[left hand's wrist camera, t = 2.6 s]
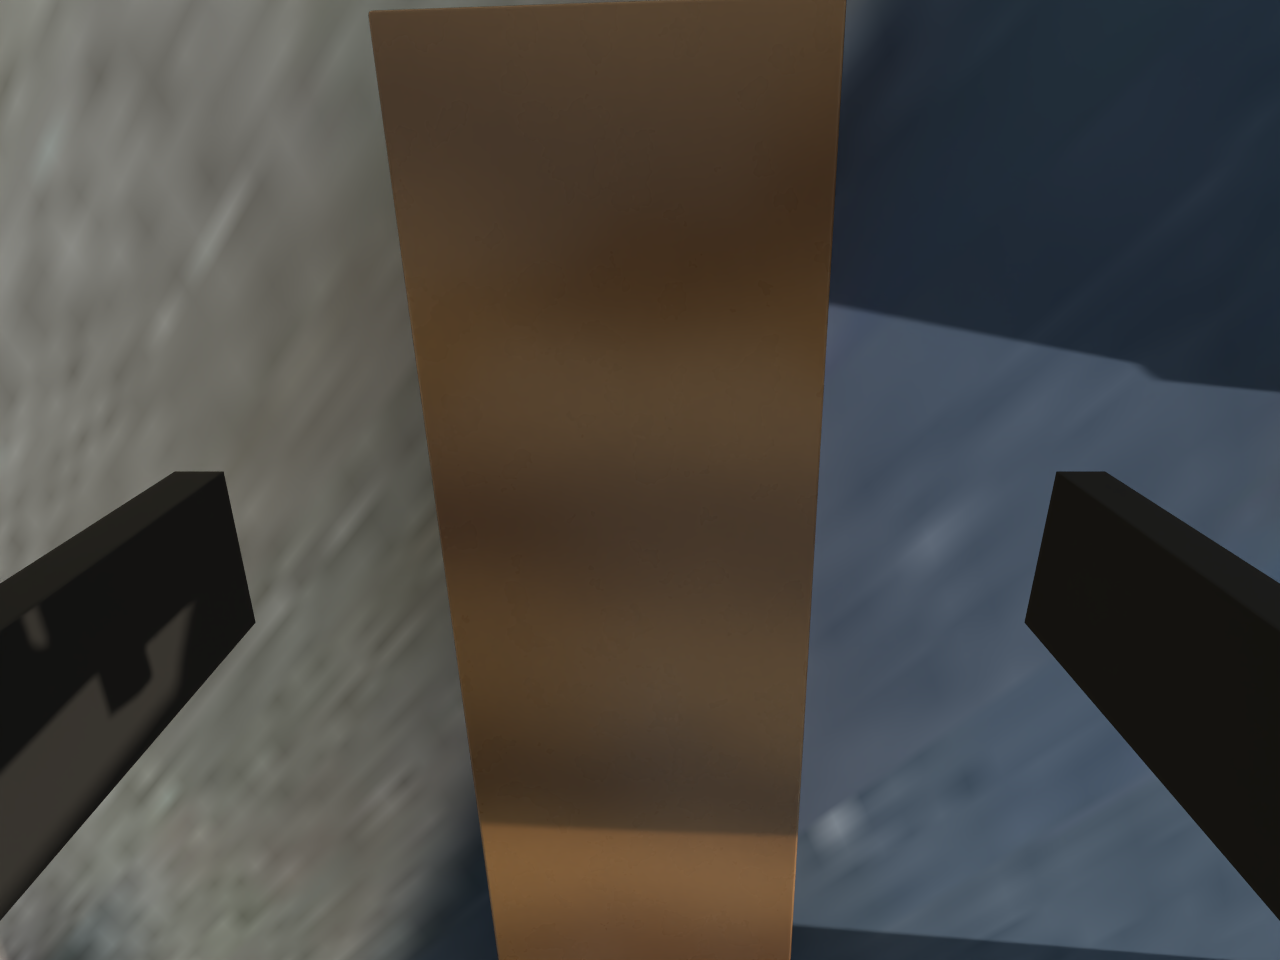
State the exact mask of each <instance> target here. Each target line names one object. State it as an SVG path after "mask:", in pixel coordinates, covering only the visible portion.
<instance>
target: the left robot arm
mask: <svg viewBox="0 0 1280 960" xmlns="http://www.w3.org/2000/svg"><path fill="white" fill-rule="evenodd" d="M254 624H255V618H254V613H253V609H252V604H251V599H250V595H249V590H248V585H247V580H246V576H245V571H244V566H243V561H242V557H241V552H240V547H239V543H238V538H237V533H236V528H235V524H234V519H233V514H232V509H231V505H230V500H229V495H228V491H227V486H226V481H225V476H224V472H174V473H172V474H170V475H169V476H167V477H166V478H164V479H163V480H161V481H160V482H158V483H156V484H155V485H153V486H152V487H150V488H149V489H147V490H145V491H144V492H142V493H141V494H139V495H138V496H136V497H135V498H133V499H131V500H130V501H128V502H127V503H125V504H124V505H122V506H121V507H119V508H117V509H116V510H114V511H113V512H111V513H110V514H108V515H107V516H105V517H103V518H102V519H100V520H99V521H97V522H96V523H94V524H92V525H91V526H89V527H88V528H86V529H85V530H83V531H82V532H80V533H78V534H77V535H75V536H74V537H72V538H71V539H69V540H68V541H66V542H64V543H63V544H61V545H60V546H58V547H57V548H55V549H53V550H52V551H50V552H49V553H47V554H46V555H44V556H43V557H41V558H39V559H38V560H36V561H35V562H33V563H32V564H30V565H29V566H27V567H25V568H24V569H22V570H21V571H19V572H18V573H16V574H15V575H13V576H11V577H10V578H8V579H7V580H5V581H4V582H2V583H0V920H1V919H2V918H3V917H4V916H5V914H6V913H7V912H8V911H9V910H10V909H11V907H12V906H13V905H14V904H15V903H16V902H17V900H18V899H19V898H20V897H21V896H22V895H23V893H24V892H25V891H26V890H27V889H28V888H29V886H30V885H31V884H32V883H33V882H34V881H35V879H36V878H37V877H38V876H39V875H40V874H41V872H42V871H43V870H44V869H45V868H46V867H47V865H48V864H49V863H50V862H51V861H52V860H53V858H54V857H55V856H56V855H57V854H58V853H59V851H60V850H61V849H62V848H63V847H64V846H65V844H66V843H67V842H68V841H69V840H70V838H71V837H72V836H73V835H74V834H75V833H76V831H77V830H78V829H79V828H80V827H81V826H82V824H83V823H84V822H85V821H86V820H87V819H88V817H89V816H90V815H91V814H92V813H93V812H94V810H95V809H96V808H97V807H98V806H99V805H100V803H101V802H102V801H103V800H104V799H105V798H106V796H107V795H108V794H109V793H110V792H111V791H112V789H113V788H114V787H115V786H116V785H117V784H118V782H119V781H120V780H121V779H122V778H123V777H124V775H125V774H126V773H127V772H128V771H129V770H130V768H131V767H132V766H133V765H134V764H135V763H136V761H137V760H138V759H139V758H140V757H141V756H142V754H143V753H144V752H145V751H146V750H147V749H148V747H149V746H150V745H151V744H152V743H153V742H154V740H155V739H156V738H157V737H158V736H159V735H160V733H161V732H162V731H163V730H164V729H165V728H166V726H167V725H168V724H169V723H170V722H171V721H172V719H173V718H174V717H175V716H176V715H177V714H178V712H179V711H180V710H181V709H182V708H183V707H184V705H185V704H186V703H187V702H188V701H189V700H190V698H191V697H192V696H193V695H194V694H195V693H196V691H197V690H198V689H199V688H200V687H201V686H202V684H203V683H204V682H205V681H206V680H207V678H208V677H209V676H210V675H211V674H212V673H213V671H214V670H215V669H216V668H217V667H218V666H219V664H220V663H221V662H222V661H223V660H224V659H225V657H226V656H227V655H228V654H229V653H230V652H231V650H232V649H233V648H234V647H235V646H236V645H237V643H238V642H239V641H240V640H241V639H242V638H243V636H244V635H245V634H246V633H247V632H248V631H249V629H250V628H251V627H252V626H253V625H254ZM1025 624H1026V625H1027V626H1028V627H1029V628H1030V629H1031V631H1032V632H1033V633H1034V634H1035V635H1036V636H1037V638H1038V639H1039V640H1040V641H1041V642H1042V643H1043V645H1044V646H1045V647H1046V648H1047V649H1048V650H1049V652H1050V653H1051V654H1052V655H1053V656H1054V657H1055V659H1056V660H1057V661H1058V662H1059V663H1060V664H1061V666H1062V667H1063V668H1064V669H1065V670H1066V671H1067V673H1068V674H1069V675H1070V676H1071V677H1072V678H1073V680H1074V681H1075V682H1076V683H1077V684H1078V686H1079V687H1080V688H1081V689H1082V690H1083V691H1084V693H1085V694H1086V695H1087V696H1088V697H1089V698H1090V700H1091V701H1092V702H1093V703H1094V704H1095V705H1096V707H1097V708H1098V709H1099V710H1100V711H1101V712H1102V714H1103V715H1104V716H1105V717H1106V718H1107V719H1108V721H1109V722H1110V723H1111V724H1112V725H1113V726H1114V728H1115V729H1116V730H1117V731H1118V732H1119V733H1120V735H1121V736H1122V737H1123V738H1124V739H1125V740H1126V742H1127V743H1128V744H1129V745H1130V746H1131V747H1132V749H1133V750H1134V751H1135V752H1136V753H1137V754H1138V756H1139V757H1140V758H1141V759H1142V760H1143V761H1144V763H1145V764H1146V765H1147V766H1148V767H1149V768H1150V770H1151V771H1152V772H1153V773H1154V774H1155V775H1156V777H1157V778H1158V779H1159V780H1160V781H1161V782H1162V784H1163V785H1164V786H1165V787H1166V788H1167V789H1168V791H1169V792H1170V793H1171V794H1172V795H1173V796H1174V798H1175V799H1176V800H1177V801H1178V802H1179V803H1180V805H1181V806H1182V807H1183V808H1184V809H1185V810H1186V812H1187V813H1188V814H1189V815H1190V816H1191V817H1192V819H1193V820H1194V821H1195V822H1196V823H1197V824H1198V826H1199V827H1200V828H1201V829H1202V830H1203V831H1204V833H1205V834H1206V835H1207V836H1208V837H1209V838H1210V840H1211V841H1212V842H1213V843H1214V844H1215V846H1216V847H1217V848H1218V849H1219V850H1220V851H1221V853H1222V854H1223V855H1224V856H1225V857H1226V858H1227V860H1228V861H1229V862H1230V863H1231V864H1232V865H1233V867H1234V868H1235V869H1236V870H1237V871H1238V872H1239V874H1240V875H1241V876H1242V877H1243V878H1244V879H1245V881H1246V882H1247V883H1248V884H1249V885H1250V886H1251V888H1252V889H1253V890H1254V891H1255V892H1256V893H1257V895H1258V896H1259V897H1260V898H1261V899H1262V900H1263V902H1264V903H1265V904H1266V905H1267V906H1268V907H1269V909H1270V910H1271V911H1272V912H1273V913H1274V914H1275V916H1276V917H1277V918H1278V919H1279V920H1280V583H1278V582H1276V581H1275V580H1273V579H1272V578H1270V577H1269V576H1267V575H1265V574H1264V573H1262V572H1261V571H1259V570H1258V569H1256V568H1255V567H1253V566H1251V565H1250V564H1248V563H1247V562H1245V561H1244V560H1242V559H1241V558H1239V557H1237V556H1236V555H1234V554H1233V553H1231V552H1230V551H1228V550H1227V549H1225V548H1223V547H1222V546H1220V545H1219V544H1217V543H1216V542H1214V541H1212V540H1211V539H1209V538H1208V537H1206V536H1205V535H1203V534H1202V533H1200V532H1198V531H1197V530H1195V529H1194V528H1192V527H1191V526H1189V525H1188V524H1186V523H1184V522H1183V521H1181V520H1180V519H1178V518H1177V517H1175V516H1173V515H1172V514H1170V513H1169V512H1167V511H1166V510H1164V509H1163V508H1161V507H1159V506H1158V505H1156V504H1155V503H1153V502H1152V501H1150V500H1149V499H1147V498H1145V497H1144V496H1142V495H1141V494H1139V493H1138V492H1136V491H1135V490H1133V489H1131V488H1130V487H1128V486H1127V485H1125V484H1124V483H1122V482H1120V481H1119V480H1117V479H1116V478H1114V477H1113V476H1111V475H1110V474H1108V473H1106V472H1056V476H1055V481H1054V486H1053V491H1052V495H1051V500H1050V505H1049V509H1048V514H1047V519H1046V524H1045V528H1044V533H1043V538H1042V543H1041V547H1040V552H1039V557H1038V561H1037V566H1036V571H1035V576H1034V580H1033V585H1032V590H1031V595H1030V599H1029V604H1028V609H1027V613H1026V618H1025Z"/></svg>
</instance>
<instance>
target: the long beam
mask: <svg viewBox="0 0 1280 960" xmlns="http://www.w3.org/2000/svg"><path fill="white" fill-rule="evenodd" d="M368 16H369V23H370V31H371V38H372V45H373V52H374V60H375V67H376V74H377V82H378V89H379V96H380V103H381V111H382V118H383V125H384V132H385V140H386V147H387V154H388V162H389V169H390V176H391V183H392V191H393V198H394V205H395V212H396V220H397V227H398V234H399V242H400V249H401V256H402V263H403V271H404V278H405V285H406V292H407V300H408V307H409V314H410V321H411V329H412V336H413V343H414V351H415V358H416V365H417V372H418V380H419V387H420V394H421V401H422V409H423V416H424V423H425V431H426V438H427V445H428V452H429V460H430V467H431V474H432V481H433V489H434V496H435V503H436V511H437V518H438V525H439V532H440V540H441V547H442V554H443V561H444V569H445V576H446V583H447V591H448V598H449V605H450V612H451V620H452V627H453V634H454V641H455V649H456V656H457V663H458V670H459V678H460V685H461V692H462V700H463V707H464V714H465V721H466V729H467V736H468V743H469V750H470V758H471V765H472V772H473V780H474V787H475V794H476V801H477V809H478V816H479V823H480V830H481V838H482V845H483V852H484V860H485V867H486V874H487V881H488V889H489V896H490V903H491V910H492V918H493V925H494V932H495V940H496V947H497V954H498V960H790V958H791V941H792V924H793V907H794V890H795V873H796V855H797V838H798V821H799V804H800V787H801V770H802V753H803V736H804V718H805V701H806V684H807V667H808V650H809V633H810V616H811V599H812V582H813V564H814V547H815V530H816V513H817V496H818V479H819V462H820V445H821V427H822V410H823V393H824V376H825V359H826V342H827V325H828V308H829V291H830V273H831V256H832V239H833V222H834V205H835V188H836V171H837V154H838V136H839V119H840V102H841V85H842V68H843V51H844V34H845V17H846V0H655V1H627V2H599V3H571V4H543V5H515V6H487V7H459V8H431V9H403V10H375V11H370V12H369V15H368Z"/></svg>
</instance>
